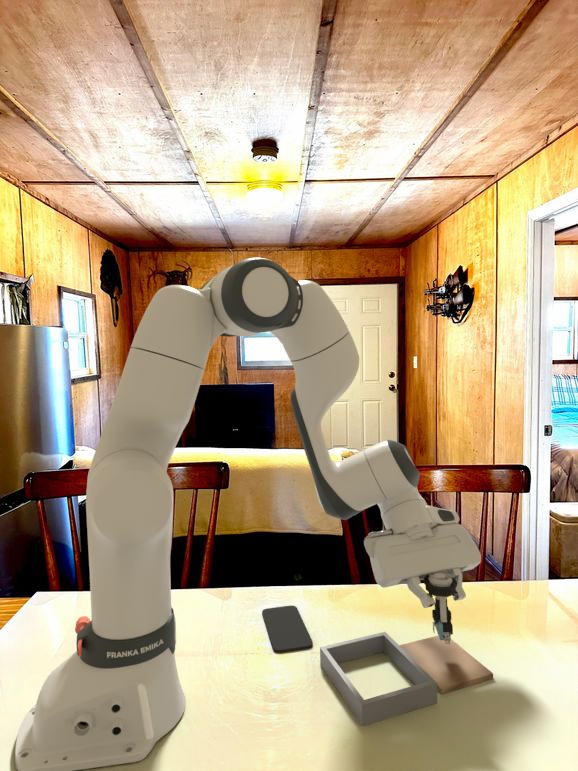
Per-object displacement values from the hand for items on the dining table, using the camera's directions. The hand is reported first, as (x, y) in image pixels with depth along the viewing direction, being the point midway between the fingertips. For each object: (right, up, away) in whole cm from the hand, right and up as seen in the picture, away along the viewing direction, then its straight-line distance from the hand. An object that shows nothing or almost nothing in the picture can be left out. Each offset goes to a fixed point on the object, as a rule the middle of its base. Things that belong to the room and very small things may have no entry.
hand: (445, 602), depth 79 cm
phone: (-27, -11, +13) cm, 32 cm away
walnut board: (0, -11, +1) cm, 11 cm away
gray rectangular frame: (-12, -11, -3) cm, 17 cm away
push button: (0, -6, +1) cm, 6 cm away
